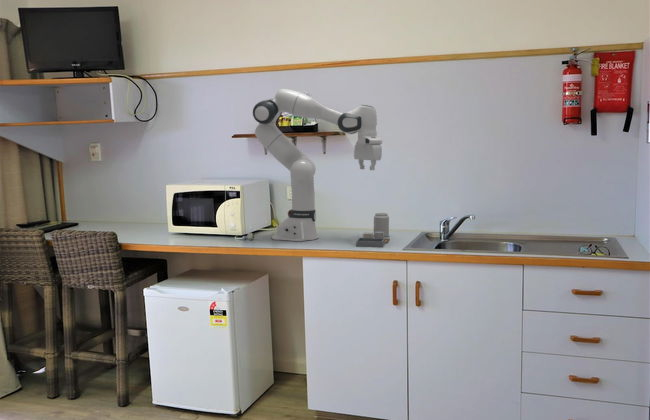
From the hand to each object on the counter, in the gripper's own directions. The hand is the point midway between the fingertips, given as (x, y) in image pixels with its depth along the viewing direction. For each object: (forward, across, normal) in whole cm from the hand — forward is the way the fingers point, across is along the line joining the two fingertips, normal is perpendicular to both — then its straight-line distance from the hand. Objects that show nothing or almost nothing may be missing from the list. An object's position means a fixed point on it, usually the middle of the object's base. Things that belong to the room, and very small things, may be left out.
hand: (367, 169), depth 292 cm
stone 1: (+34, +3, -1) cm, 34 cm away
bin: (+34, +12, -5) cm, 36 cm away
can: (+34, -8, +12) cm, 37 cm away
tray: (+34, +3, +2) cm, 34 cm away
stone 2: (+34, +2, +5) cm, 34 cm away
